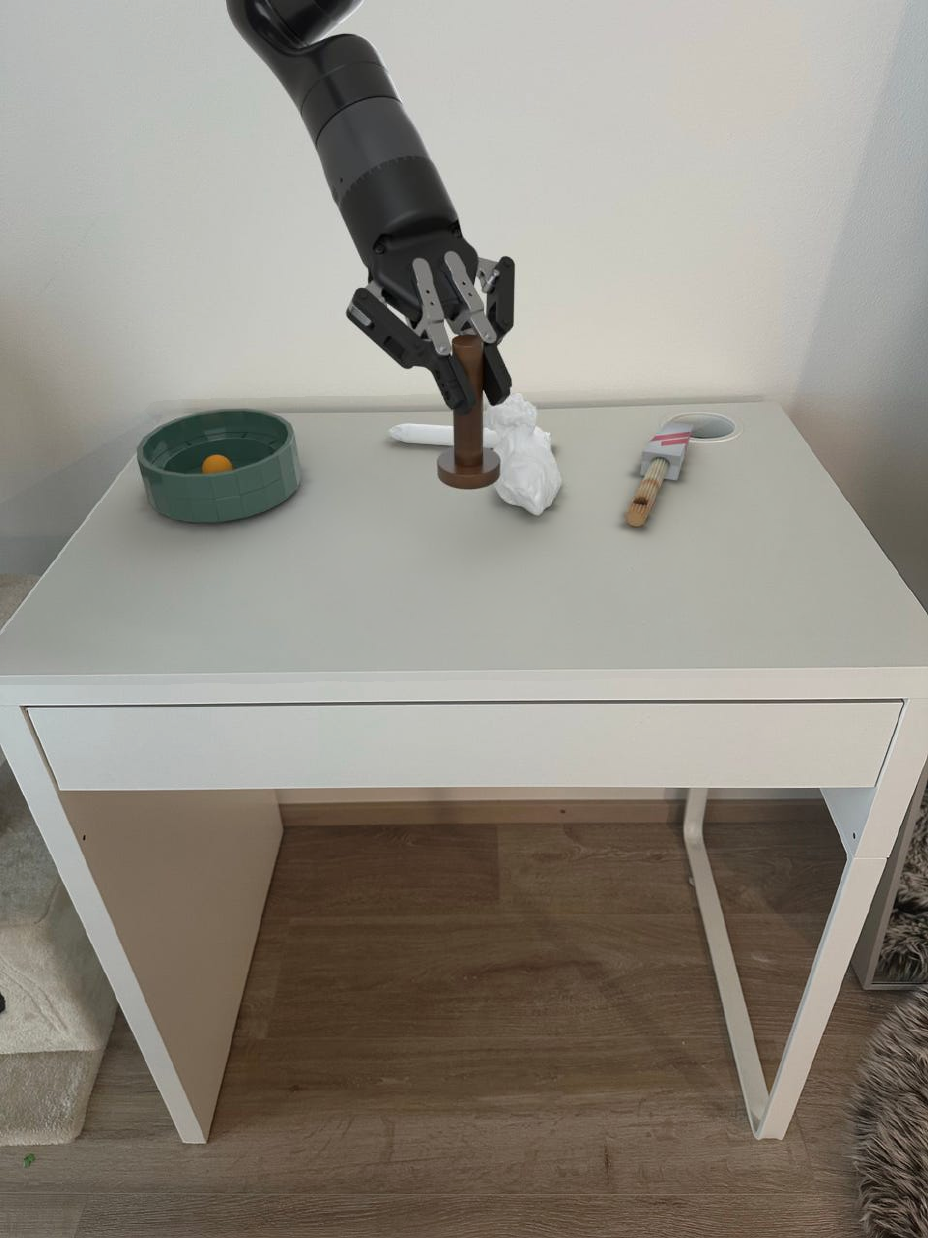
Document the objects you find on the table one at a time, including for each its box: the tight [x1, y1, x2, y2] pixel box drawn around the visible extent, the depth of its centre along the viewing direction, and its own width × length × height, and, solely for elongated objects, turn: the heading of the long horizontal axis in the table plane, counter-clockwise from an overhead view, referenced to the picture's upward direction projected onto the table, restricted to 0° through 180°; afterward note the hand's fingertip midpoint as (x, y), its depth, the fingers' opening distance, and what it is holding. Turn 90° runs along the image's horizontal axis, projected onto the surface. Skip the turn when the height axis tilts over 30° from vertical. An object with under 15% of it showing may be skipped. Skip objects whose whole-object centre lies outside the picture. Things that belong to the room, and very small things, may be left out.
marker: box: [387, 422, 552, 450], centre depth 101 cm, size 18×2×2 cm, turn 77°
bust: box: [483, 392, 563, 516], centre depth 90 cm, size 12×8×11 cm
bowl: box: [136, 408, 302, 523], centre depth 94 cm, size 15×15×6 cm
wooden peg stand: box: [436, 334, 501, 491], centre depth 68 cm, size 5×5×10 cm
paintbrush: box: [625, 421, 694, 528], centre depth 93 cm, size 4×3×20 cm
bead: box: [202, 455, 233, 474], centre depth 95 cm, size 3×3×3 cm
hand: (485, 404), depth 66 cm, fingers closed on wooden peg stand
